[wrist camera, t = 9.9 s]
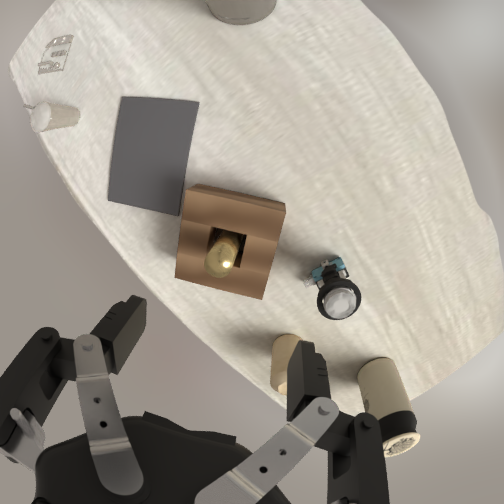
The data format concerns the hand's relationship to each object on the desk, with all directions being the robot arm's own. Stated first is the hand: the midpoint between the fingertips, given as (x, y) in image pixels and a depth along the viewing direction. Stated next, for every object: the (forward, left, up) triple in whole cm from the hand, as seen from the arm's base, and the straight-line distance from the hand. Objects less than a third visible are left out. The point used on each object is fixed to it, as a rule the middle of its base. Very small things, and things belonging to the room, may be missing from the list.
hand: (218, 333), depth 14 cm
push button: (+6, +11, -26) cm, 29 cm away
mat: (-5, -17, -26) cm, 31 cm away
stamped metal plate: (-22, -41, -26) cm, 54 cm away
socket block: (+4, -3, -26) cm, 26 cm away
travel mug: (+24, +29, -26) cm, 46 cm away
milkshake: (-10, -33, -26) cm, 43 cm away
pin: (+4, -3, -26) cm, 26 cm away
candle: (+21, +10, -26) cm, 35 cm away
